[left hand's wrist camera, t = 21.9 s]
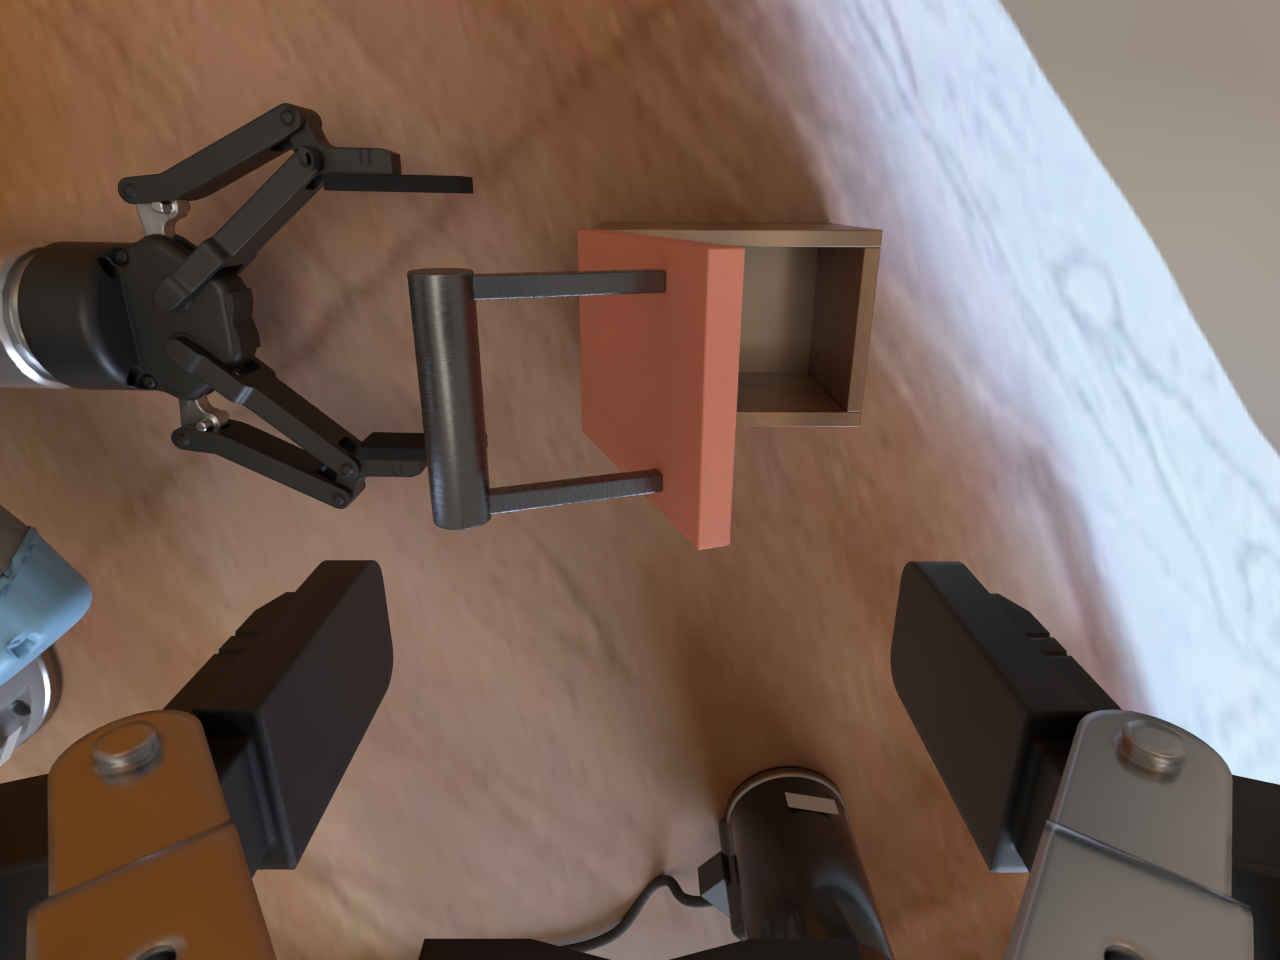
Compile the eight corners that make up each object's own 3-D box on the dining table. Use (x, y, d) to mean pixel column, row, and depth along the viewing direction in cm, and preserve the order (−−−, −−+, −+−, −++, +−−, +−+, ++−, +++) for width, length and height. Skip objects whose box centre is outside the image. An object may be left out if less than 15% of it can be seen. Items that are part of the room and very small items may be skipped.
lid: (746, 247, 21) (412, 253, 18) (730, 545, 24) (446, 591, 21) (602, 229, 33) (390, 231, 30) (604, 428, 37) (414, 447, 34)
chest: (831, 223, 43) (883, 229, 34) (816, 381, 46) (860, 427, 37) (601, 222, 43) (590, 228, 34) (603, 381, 46) (594, 426, 37)
